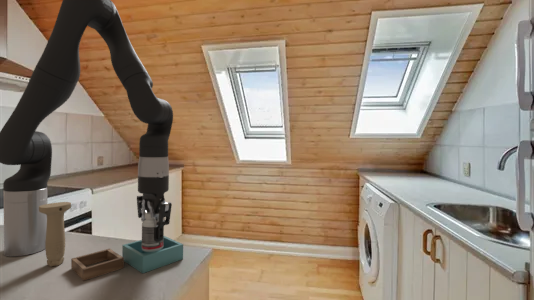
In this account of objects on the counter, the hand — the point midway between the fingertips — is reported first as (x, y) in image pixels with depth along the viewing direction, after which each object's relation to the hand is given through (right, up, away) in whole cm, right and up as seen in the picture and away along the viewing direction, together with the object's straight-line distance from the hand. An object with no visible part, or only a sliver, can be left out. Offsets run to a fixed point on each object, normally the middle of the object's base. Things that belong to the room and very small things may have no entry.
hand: (152, 237), depth 74 cm
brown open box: (-11, -6, -5) cm, 14 cm away
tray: (0, -6, 0) cm, 6 cm away
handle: (-23, -6, -4) cm, 24 cm away
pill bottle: (0, -3, 0) cm, 3 cm away
